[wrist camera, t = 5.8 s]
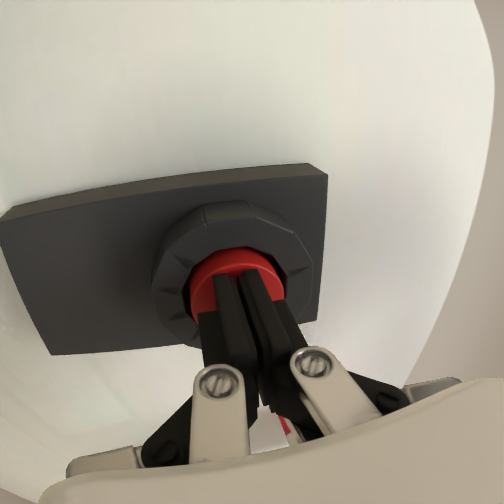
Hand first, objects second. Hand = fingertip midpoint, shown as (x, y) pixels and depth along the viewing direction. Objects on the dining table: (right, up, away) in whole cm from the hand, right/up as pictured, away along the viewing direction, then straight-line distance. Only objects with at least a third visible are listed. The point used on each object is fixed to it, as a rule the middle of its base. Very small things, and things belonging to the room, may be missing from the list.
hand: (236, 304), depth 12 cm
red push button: (0, +1, +2) cm, 2 cm away
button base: (-4, +2, +4) cm, 6 cm away
